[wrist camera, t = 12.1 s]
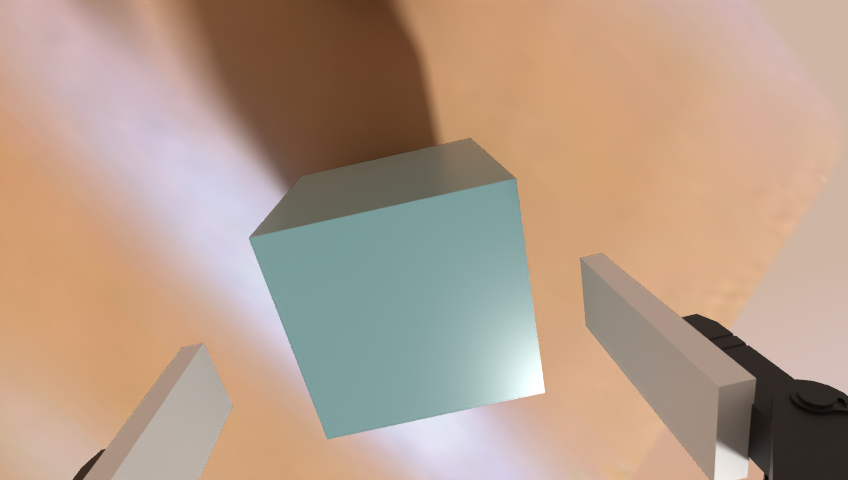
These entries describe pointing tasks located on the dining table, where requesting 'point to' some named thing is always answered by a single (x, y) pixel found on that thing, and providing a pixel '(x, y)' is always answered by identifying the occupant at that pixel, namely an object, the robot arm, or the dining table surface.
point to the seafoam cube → (404, 287)
